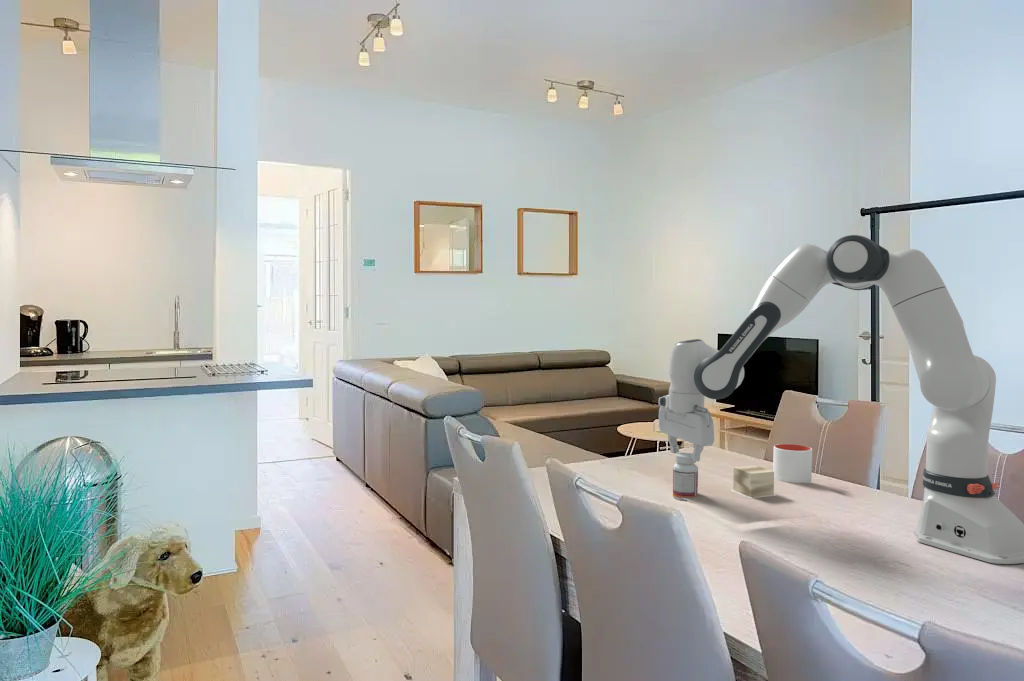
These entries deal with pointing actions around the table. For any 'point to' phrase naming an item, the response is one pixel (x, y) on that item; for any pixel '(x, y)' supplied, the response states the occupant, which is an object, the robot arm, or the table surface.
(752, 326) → the robot arm
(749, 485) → the maple block
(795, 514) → the table surface
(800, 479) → the cup
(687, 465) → the pill bottle
